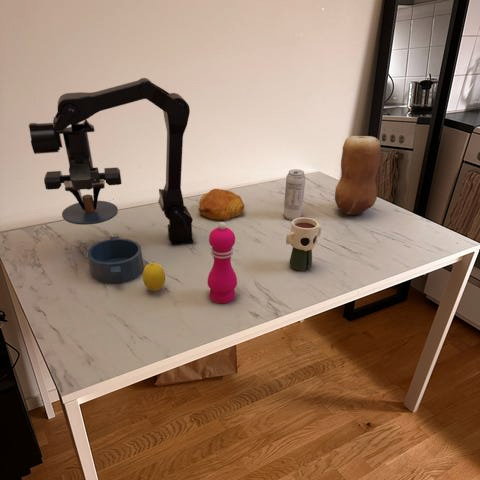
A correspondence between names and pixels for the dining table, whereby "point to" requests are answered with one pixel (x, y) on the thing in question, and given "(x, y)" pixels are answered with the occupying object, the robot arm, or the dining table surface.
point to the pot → (115, 260)
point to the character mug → (303, 241)
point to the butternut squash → (358, 174)
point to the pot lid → (89, 212)
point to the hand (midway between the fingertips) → (89, 209)
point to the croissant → (220, 205)
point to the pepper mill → (222, 265)
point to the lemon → (153, 276)
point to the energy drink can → (294, 194)
